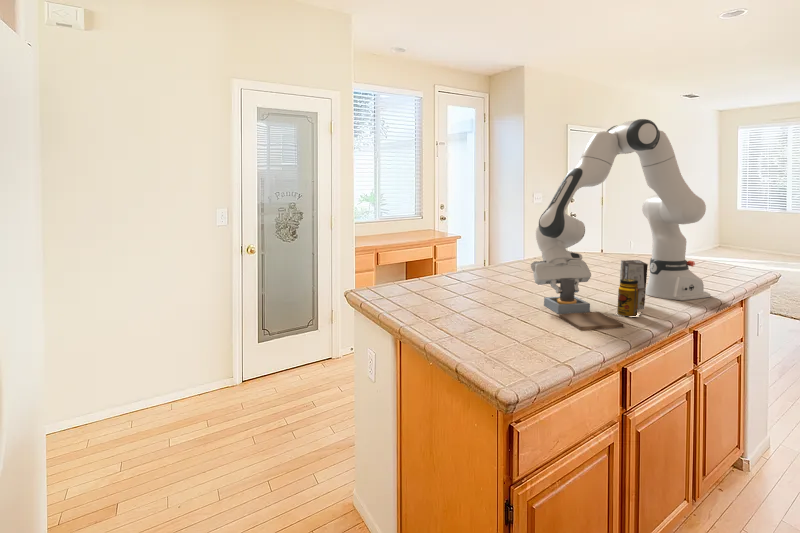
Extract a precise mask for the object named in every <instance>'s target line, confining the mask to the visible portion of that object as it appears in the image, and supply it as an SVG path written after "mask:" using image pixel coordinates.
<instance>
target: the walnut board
mask: <svg viewBox="0 0 800 533" xmlns="http://www.w3.org/2000/svg"><path fill="white" fill-rule="evenodd" d="M558 317H559V318H560V319H561V320H562V321H564V322H566V323H568V324H570V325H571V326H573V327H574V328H576V329H578V330H579V331H585V330H586V331H587V330H588V331H589V330H600V329H601V330H602V329H603V330H604V328H606V329H618V328H617V327H622V328H624V326H625V325H624V323H622V322H620V321H618V320H616V319H614V318H612V317H610V316H608V315H606V314H604V313H602V312H600V311H590V312H585V313H567V314H558Z"/></svg>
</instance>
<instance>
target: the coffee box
mask: <svg viewBox="0 0 800 533" xmlns="http://www.w3.org/2000/svg"><path fill="white" fill-rule="evenodd" d="M648 266H649V264H648V263H646V262H643V261H642V260H638V259H633V260H631V259H627V260H620V275H619V276H620V277H619V281H620V280H621V279H635V280H638V289H639V295H638V310H644V309H645V303H646V294H645V292H646V287H647V280H648V279H647V277H648Z"/></svg>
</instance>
